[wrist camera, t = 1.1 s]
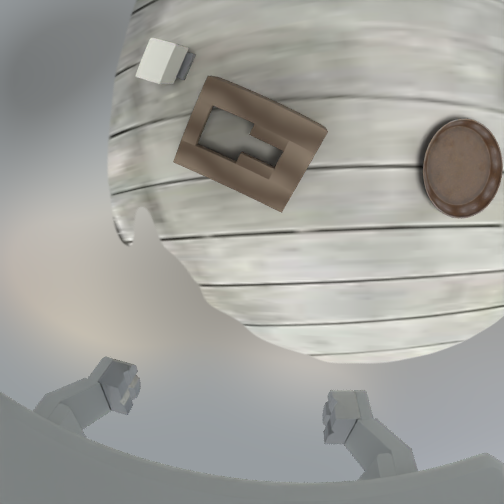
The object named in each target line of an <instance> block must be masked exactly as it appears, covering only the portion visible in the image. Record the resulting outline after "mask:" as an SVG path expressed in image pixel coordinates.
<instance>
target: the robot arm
mask: <svg viewBox="0 0 504 504" xmlns="http://www.w3.org/2000/svg"><path fill="white" fill-rule="evenodd" d="M137 372H138V371H137V367H136V365H134V364H130V363H127V362H123V361H120V360H116V359H112V358H109V357H104V358H102V360H101V361H100V362H99V364H98V365H97V367H96V368H95V369H94V371H93V372H92V373H91V375H90V376H89V377H88V379H87V378H83V379H81V380H79V381H77V382H74V383H72V384H69V385H67V386H65V387H62V388H60V389H58V390H55V391H53V392H50V393H48V394H46V395H45V396H44V397H43V398H42V400H41V401H40V402H39V403H38V405H37V406H36V407H35V409H34V410H33V411H31V410H29V409H27V408H26V407H24V406H22V405H21V404H19V403H17V402H16V401H14V400H12V399H11V398H9V397H8V396H6V395H5V394H3V393H2V392H0V504H504V463H502V462H501V461H500V460H498V459H496V458H495V457H494V456H492V455H490V454H488V453H482V454H479V455H476V456H473V457H470V458H467V459H463V460H460V461H457V462H454V463H450V464H446V465H443V466H439V467H435V468H431V469H427V470H422V471H418V470H417V466H416V463H415V459H414V455H413V452H412V449H411V448H410V447H409V446H408V445H406V444H405V443H404V442H403V441H402V440H401V439H399V438H398V437H397V436H396V435H395V434H394V433H393V432H391V431H390V430H389V429H388V428H387V427H386V426H384V425H383V424H382V423H381V422H380V421H379V420H378V419H374V418H373V415H372V410H371V407H370V403H369V399H368V395H367V392H366V391H365V390H354V391H353V390H331V391H330V392H329V394H328V402H326V403H325V405H324V410H323V424H324V425H325V426H326V427H325V430H324V442H325V444H344V446H345V447H346V448H347V449H348V451H349V452H350V453H351V454H352V456H353V457H354V458H355V459H356V461H357V462H358V463H359V464H360V466H361V467H362V468H363V469H364V471H365V472H364V473H363V474H362V476H361V477H360V478H359V479H358V480H357V481H344V482H325V483H323V482H322V483H292V482H271V481H257V480H248V479H239V478H231V477H224V476H217V475H211V474H206V473H200V472H195V471H191V470H186V469H181V468H177V467H172V466H169V465H164V464H161V463H157V462H154V461H150V460H146V459H143V458H140V457H136V456H133V455H130V454H128V453H124V452H122V451H119V450H116V449H113V448H110V447H108V446H105V445H103V444H100V443H97V442H95V441H92V440H90V439H88V438H87V437H86V436H85V434H84V432H83V431H82V430H83V429H84V428H86V427H87V426H89V425H91V424H92V423H94V422H95V421H97V420H98V419H100V418H101V417H103V416H104V415H106V414H108V413H109V412H110V411H115V412H118V413H122V414H125V415H128V413H129V412H130V410H131V408H132V406H133V403H132V400H133V399H135V398H137V396H138V394H139V392H140V378H139V377H138V376H137V375H136V373H137Z"/></svg>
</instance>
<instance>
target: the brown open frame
mask: <svg viewBox="0 0 504 504" xmlns="http://www.w3.org/2000/svg"><path fill="white" fill-rule="evenodd" d="M213 106H215V107H217V108H220V109H222V110H225V111H227V112H229V113H232V114H234V115H236V116H239V117H241V118H243V119H245V120H248V121H250V122H252V123H254V126H253V128H252V130H251V132H250V134H249V135H251V136H253V137H255V138H257V139H260V140H262V141H264V142H266V143H268V144H270V145H272V146H274V147H276V148H278V149H280V150H282V151H283V152H282V154H281V156H280V158H279V160H278V162H277V164H276V165H275V167H273V166H271V165H269V164H267V163H265V162H263V161H261V160H259V159H257V158H255V157H253V156H251V155H249V154H246V153H244V152H241V153H240V155H239V157H238V160H237V161H234V160H232V159H230V158H228V157H226V156H223V155H221V154H219V153H217V152H215V151H212V150H210V149H208V148H205V147H203V146H201V145H198V141H199V139H200V137H201V134H202V132H203V129H204V127H205V125H206V122H207V120H208V118H209V115H210V113H211V111H212V108H213ZM327 132H328V131H327V129H326V128H325V127H324V126H322V125H321V124H319V123H317V122H315V121H313V120H311V119H309V118H308V117H306V116H304V115H302V114H300V113H298V112H296V111H294V110H292V109H290V108H288V107H286V106H284V105H282V104H280V103H277V102H275V101H273V100H271V99H269V98H267V97H265V96H262V95H260V94H258V93H256V92H253V91H251V90H249V89H246V88H244V87H242V86H239V85H237V84H234V83H232V82H229V81H227V80H224V79H222V78H219V77H214V76H208V77H207V79H206V81H205V84H204V86H203V88H202V90H201V93H200V95H199V97H198V100H197V102H196V104H195V107H194V109H193V112H192V114H191V117H190V119H189V122H188V124H187V127H186V129H185V132H184V134H183V137H182V140H181V142H180V145H179V148H178V150H177V153H176V156H175V159H174V161H173V162H174V163H176V164H179V165H181V166H183V167H185V168H188V169H190V170H192V171H194V172H197V173H199V174H201V175H203V176H206V177H208V178H210V179H212V180H214V181H217V182H219V183H221V184H223V185H225V186H227V187H230V188H232V189H234V190H236V191H238V192H240V193H242V194H244V195H246V196H249V197H251V198H253V199H255V200H257V201H259V202H261V203H263V204H265V205H267V206H269V207H271V208H273V209H275V210H277V211H279V212H281V213H282V211H283V209H284V208H285V206H286V204H287V202H288V201H289V199H290V197H291V195H292V194H293V192H294V190H295V188H296V187H297V185H298V183H299V181H300V180H301V178H302V176H303V174H304V173H305V171H306V169H307V168H308V166H309V164H310V162H311V161H312V159H313V157H314V155H315V154H316V152H317V150H318V148H319V146H320V145H321V143H322V141H323V139H324V138H325V136H326V134H327Z"/></svg>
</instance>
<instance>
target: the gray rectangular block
mask: <svg viewBox="0 0 504 504" xmlns="http://www.w3.org/2000/svg"><path fill="white" fill-rule="evenodd" d="M188 49H189V48H188V47H185V46H181V45H178V44H174V43H171V42H167V41H163V40H159V39H155V38H150V40H149V43H148V45H147V48H146V50H145V52H144V55H143V57H142V60H141V63H140V65H139V68H138V70H137V73H136V76H135V77H138V78H142V79H145V80H148V81H151V82H154V83H157V84H173V83H174V81H175V79H176V78H179V79H182V80H185V78H186V76H187V74H188V71H189V69H190V67H191V64H192V62H193V60H194V58H195V56H196V55H195V54H192V53H189V52H187V51H188Z"/></svg>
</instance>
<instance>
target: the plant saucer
mask: <svg viewBox="0 0 504 504" xmlns="http://www.w3.org/2000/svg"><path fill="white" fill-rule="evenodd" d="M502 169H503V164H502V155H501V151H500V148H499V145H498V142H497V141H496V139H495V137H494V136H493V134H492V133H491V132H490V130H489V129H488V128H486V127H485V126H484V125H483V124H481V123H479V122H477V121H475V120H472V119H456V120H453V121H451V122H449V123H447V124H445V125H444V126H443V127H441V128H440V129H439V130H438V131H437V132H436V134H435V135H434V136H433V138H432V139H431V141H430V143H429V145H428V148H427V150H426V154H425V157H424V163H423V179H424V185H425V188H426V192H427V194H428V196H429V198H430V200H431V202H432V203H433V204H434V206H435V207H436V208H437V209H438V210H439V211H441V212H442V213H444V214H445V215H447V216H450V217H453V218H468V217H471V216H474V215H476V214H478V213H480V212H481V211H482V210H484V209H485V208H486V207H487V206H488V205H489V204H490V202H491V201H492V200H493V198H494V197H495V195H496V193H497V191H498V188H499V185H500V182H501V178H502Z"/></svg>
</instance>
